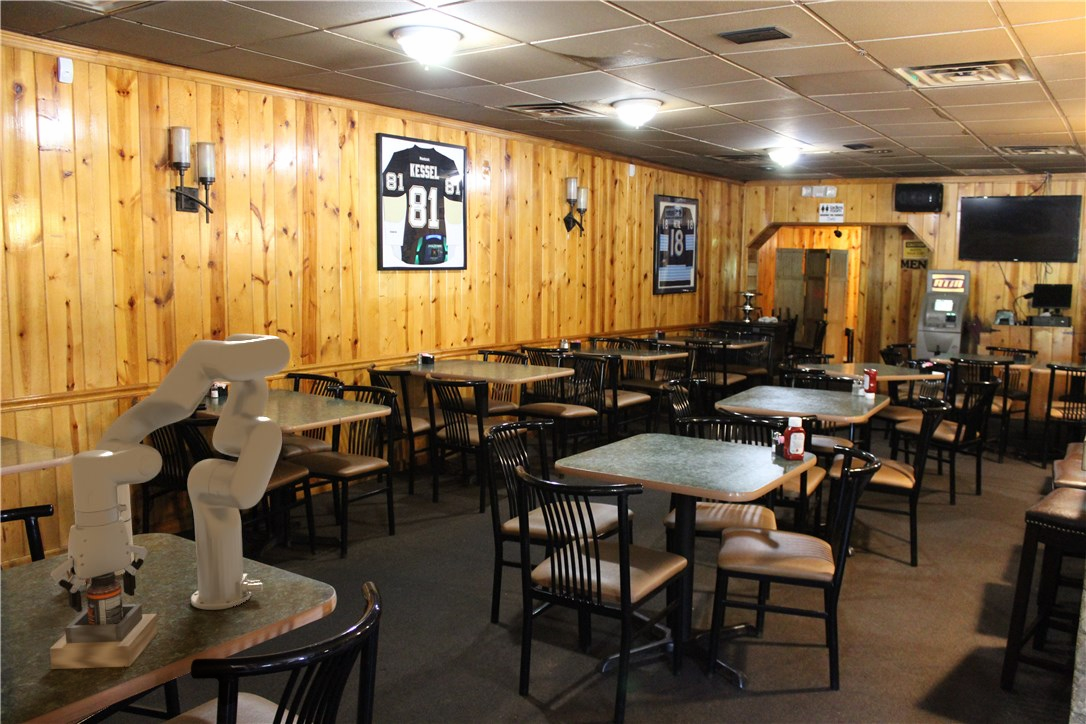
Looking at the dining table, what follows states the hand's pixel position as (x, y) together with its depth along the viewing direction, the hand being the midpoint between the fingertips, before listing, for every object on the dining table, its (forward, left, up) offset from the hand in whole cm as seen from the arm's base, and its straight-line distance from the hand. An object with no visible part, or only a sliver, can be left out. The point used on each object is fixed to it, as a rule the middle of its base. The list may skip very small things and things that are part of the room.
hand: (103, 601), depth 162 cm
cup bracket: (0, 0, -10) cm, 10 cm away
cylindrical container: (+15, -42, -10) cm, 46 cm away
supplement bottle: (0, 0, -6) cm, 6 cm away
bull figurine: (+18, -29, -10) cm, 36 cm away
